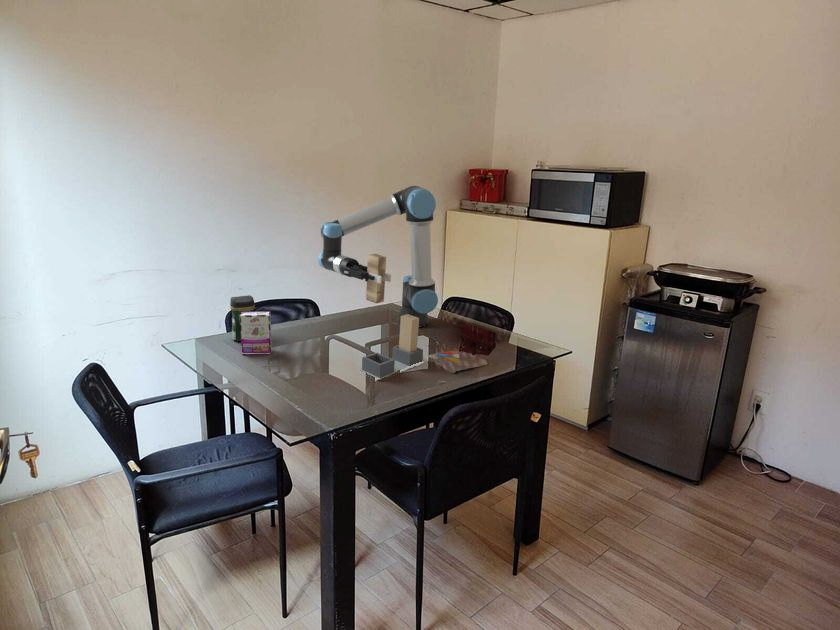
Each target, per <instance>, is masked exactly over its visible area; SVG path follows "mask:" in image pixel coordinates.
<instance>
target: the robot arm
mask: <svg viewBox="0 0 840 630" xmlns="http://www.w3.org/2000/svg"><path fill="white" fill-rule="evenodd" d="M436 207H437V202H436V198H435V196H434V195H433V193H432V192H431V191H430V190H428V189H426V188H422V187H420V186H418V185H411V186H408V187H405V188H404V189H401V190H398V191H397V192H395V193H392V194H391V195H390V197H388V198H386V199H384V200H382V201H379V202H377V203H375V204H372V205H370V206H367V207H364V208H362V209H360V210H357V211H355V212H353V213H351V214H348V215H346V216H343V217H341V218H338V219H335V220H333V221H327V222H325V223H323V224H322V225H321V228H320V236H321V238H322V240H323V243H322V244H323V245H322V246H323V248H322V251H321V252H319V254H318V256H317V263H318V265H319V266H320V267H321V268H324V269H325V270H328V271H332V272H335V273H336V274H337V273H338V274H339V275H341V276H346V277H348V278H355V279H358V280H361V281H365V282H367V281H368V279H369V280H371V281H374V282H377V283H380V284H381V283H382V276H379V275H376V274H373V273H369V274H368V273H367V266H368V265H364V264H361V263H359V261H358V260H357V259H355V258H352V257H349V256H347V255H346V256H345V255H343V254H342V241H343V239H342V238H343V237H345V236H347V235H349V234H351V233H355V232H357V231H359V230H361V229H364V228H366V227H368V226H369V227H370V225H374V224H376V223H378V222H381V221H384V220H385V219H387V218H390V217H393V216H395V215H397V216H398V215H399V216H401V215H404V214H405V222H407V223H408V224H409V230H410V231H409V233H410V234H409V235H410V236H409V237H410V239H409V240H410V257H411V260H410V262H411V274H410V275H405V276H404V277H403V278H402V294H401V295H402V296H401V297H402V298H401V308H400V310H399V313H398V315H397V319H396V322H397V321H398V322H397V324H398V323H400V320H401V316H403V315H406V314H409V315H412V316H415V317H418V318H419V326H424V325H427V324H428V323H429V324H430V318H429V315H428V313H431V312H433V311H435V309H436V307H437V306H438V303H439V297H438V294H437V293H436V281H435V279H434V278H432V253H431V252H432V250H431V223H432V222H433V221H434V212H435V210H436ZM391 279H392V274H390V273H387V272H385V282H387V283H390V282H391ZM429 324H428V325H429ZM428 325H427V326H428Z"/></svg>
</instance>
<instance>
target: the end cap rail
mask: <svg viewBox="0 0 840 630" xmlns="http://www.w3.org/2000/svg"><path fill="white" fill-rule="evenodd" d="M418 340H419V318H418V317H415V316H412V315H409V314H406V315H403V316H401V320H400V324H399V339H398V345H395V346H393V347H392V350H391V351H392V354H391V357H388V356H387V355H385V354H382V353H379V352H374V353H371V354H368V355H365V356H362V358H361V369H359V372H360V371H361V372H364V373H367V374H368V375H371V376H373V377H376V378H383V377H385V376H388V375H390V374H393V373H395V372H397V371H398V370H401V369H404V368H406V367H408V366H411V365H413V364H416V363H419V362H422V361H424V360H423V359H424V349H423V348H421V347H418Z"/></svg>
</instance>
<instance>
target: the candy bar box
mask: <svg viewBox="0 0 840 630" xmlns="http://www.w3.org/2000/svg"><path fill="white" fill-rule="evenodd" d="M271 323H272V322H271V311H253V312H241V315H240V325H241V342H240V343H241V353H242V352H243V353H271V354H272V327H271V326H272V325H271Z"/></svg>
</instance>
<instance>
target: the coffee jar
mask: <svg viewBox="0 0 840 630" xmlns="http://www.w3.org/2000/svg"><path fill="white" fill-rule="evenodd" d="M255 305H256V304H255V299H254V297H253V296H252V295H249V294H248V295H240V296H231V297H230V301H229V307H230V310H231V313H232V314H231V315H232V320H231V321H232V323H231V325H232V326H231V338H232V340H233V341H234V340H236V341H235V342H237V341H241V325H240V315H241V312H255V311H254V310H255V307H256V306H255Z"/></svg>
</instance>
